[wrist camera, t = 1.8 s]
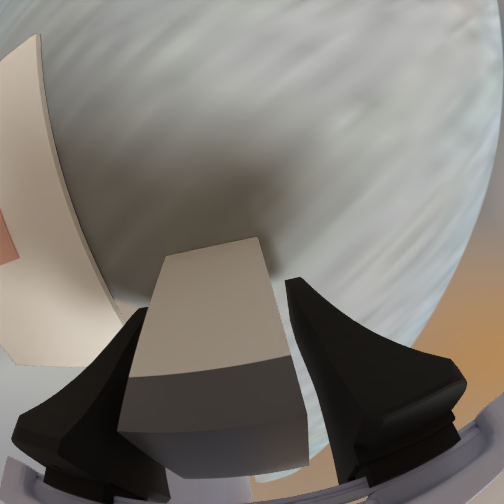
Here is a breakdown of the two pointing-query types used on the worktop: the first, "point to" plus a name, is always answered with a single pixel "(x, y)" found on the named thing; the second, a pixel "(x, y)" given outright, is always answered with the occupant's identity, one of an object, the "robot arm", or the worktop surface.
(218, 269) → the grey rectangular block
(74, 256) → the paper sheet
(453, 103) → the worktop surface
